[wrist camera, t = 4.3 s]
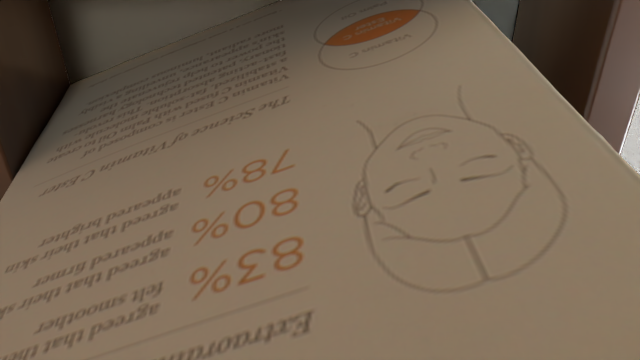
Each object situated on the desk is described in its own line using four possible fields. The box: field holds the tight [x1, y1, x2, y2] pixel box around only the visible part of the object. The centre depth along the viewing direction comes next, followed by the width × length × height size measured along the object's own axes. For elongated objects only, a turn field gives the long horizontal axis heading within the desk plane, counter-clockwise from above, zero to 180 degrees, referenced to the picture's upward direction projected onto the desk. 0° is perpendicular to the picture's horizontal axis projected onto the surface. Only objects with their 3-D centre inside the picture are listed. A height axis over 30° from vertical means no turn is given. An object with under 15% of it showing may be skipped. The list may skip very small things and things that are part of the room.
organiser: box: [0, 0, 640, 201], centre depth 12 cm, size 22×11×4 cm, turn 90°
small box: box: [0, 0, 640, 360], centre depth 9 cm, size 8×6×13 cm
